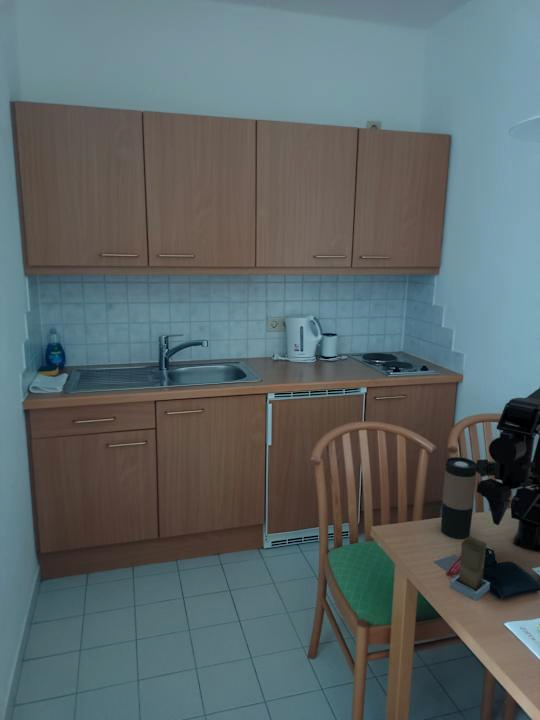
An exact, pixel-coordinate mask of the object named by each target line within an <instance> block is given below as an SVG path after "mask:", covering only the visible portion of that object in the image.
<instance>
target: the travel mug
mask: <svg viewBox="0 0 540 720" xmlns="http://www.w3.org/2000/svg"><path fill="white" fill-rule="evenodd" d="M476 463H477V462H475V461H474V460H472V459H469V458H466V457H459V456H458V457H457V456H454V457H448V458H447V459H446V461H445V471H444V482H443V491H442V500H441V501H442V502H441V503H442V504H441V524H440V525H441V526H440V531H441V533H442V534H443V536H446V537H448V538H450V539H454V540H466V539H467V538H469V537H470V534H471V526H472V518H473V511H474V510H473V509H474V503H475V501H474V500H475V491H476V489H475V488H476V479H477V478H476V477H477V472H476V470H475V468H476Z"/></svg>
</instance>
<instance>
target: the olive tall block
mask: <svg viewBox="0 0 540 720" xmlns="http://www.w3.org/2000/svg"><path fill="white" fill-rule="evenodd" d="M486 549H487V542H485V541H483V540H480V539H477V538H475V537H473V536H470V535H469V538H466V539H463V541H461V553H460V559H461V561H460V572H459V583H461V584H463V585H465V586H467V587H469V588H471V589H473V590H474V591H475V592H476V591H477V590H478V589H480V588H481V587H482V580H483V578H484V570H485V560H486V559H485V558H486Z"/></svg>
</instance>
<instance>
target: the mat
mask: <svg viewBox="0 0 540 720" xmlns="http://www.w3.org/2000/svg"><path fill="white" fill-rule="evenodd" d="M458 558H460V557H458V556H457V555H456V554H452V555H450V556H446V557H443V558H439V559H437V560H433V561H432V562H433V563H434V564H435V565H437V566H438V567H440V568H441V569H442V570H444V571H445V572H447V573H448V570H449V569H450V567H451V566H452V564H453V563H454V562H455V561H457V559H458ZM458 575H459V574H458ZM458 575H451V576H452V577H453V578H455V577H456V576H458Z"/></svg>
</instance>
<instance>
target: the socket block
mask: <svg viewBox="0 0 540 720" xmlns="http://www.w3.org/2000/svg"><path fill="white" fill-rule="evenodd" d="M490 587H491V582H489V581H488V580H485V579H483V580H482V587H481V588H480V589H478V590H477V591H476V592H475V591H474V590H473V589H471V588H469V587H467V586H465V585H463V584H461V583H459V575H458V576H456V577H453V579H451V580H450V587H449V588H450V589H452V590H454V591H456V592H458V593H459V594H461V595H464V596H466V597H468V598H470V599H472V600H474V601H476V602H477V601H478V600H479V599H480V598H481V597H482V596H484V594H486V593H487V592H488V591H490Z"/></svg>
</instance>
